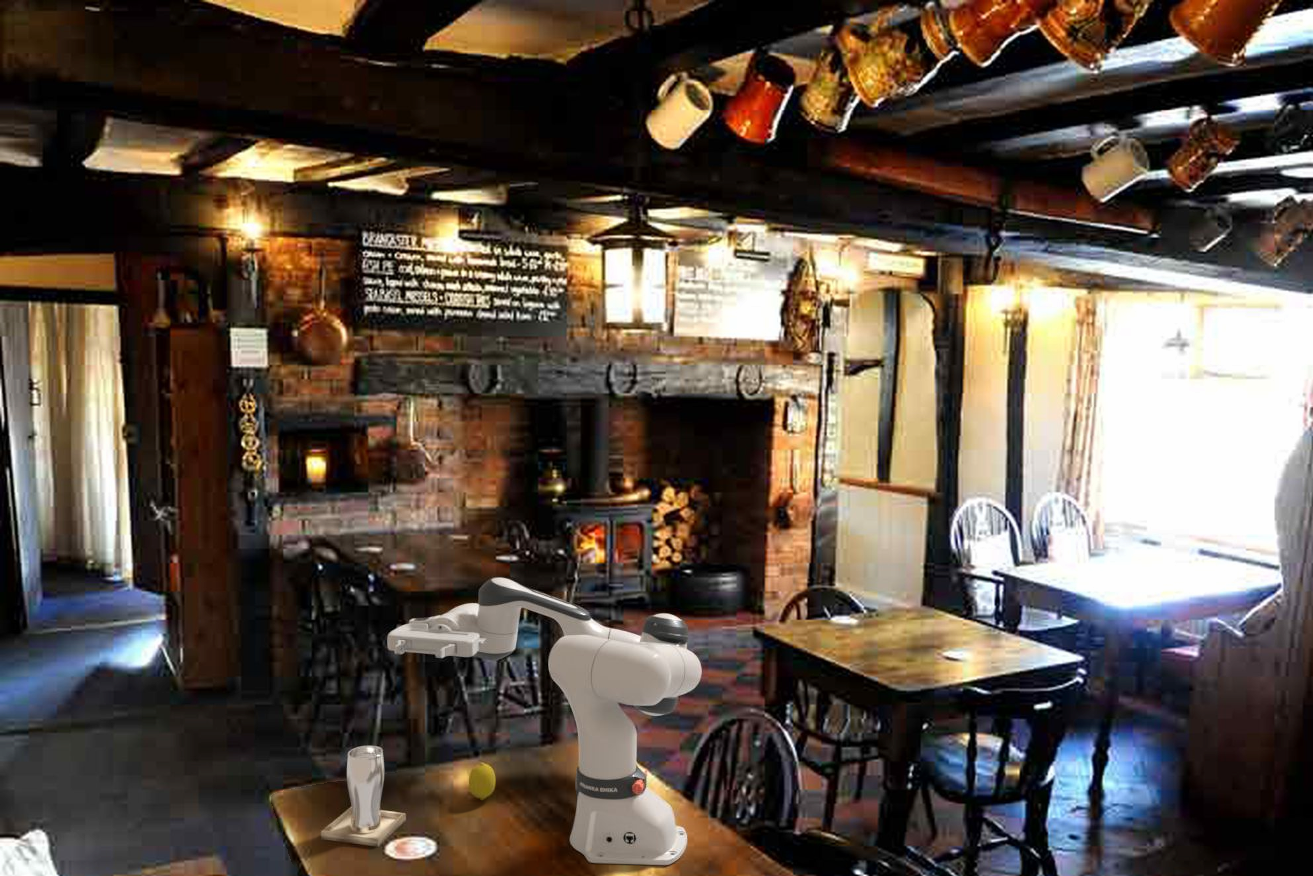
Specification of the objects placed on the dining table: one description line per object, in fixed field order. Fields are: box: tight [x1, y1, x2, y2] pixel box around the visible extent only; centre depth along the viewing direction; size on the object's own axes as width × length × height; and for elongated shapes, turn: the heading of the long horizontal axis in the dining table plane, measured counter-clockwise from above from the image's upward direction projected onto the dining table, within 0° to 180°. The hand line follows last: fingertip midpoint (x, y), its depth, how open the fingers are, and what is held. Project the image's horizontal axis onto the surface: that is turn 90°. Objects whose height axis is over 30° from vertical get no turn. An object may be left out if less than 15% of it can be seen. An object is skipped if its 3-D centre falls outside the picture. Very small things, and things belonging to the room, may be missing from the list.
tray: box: [320, 806, 407, 848], centre depth 192 cm, size 12×11×2 cm
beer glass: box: [346, 745, 385, 834], centre depth 192 cm, size 7×7×15 cm
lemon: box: [468, 762, 497, 801], centre depth 206 cm, size 6×6×8 cm
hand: (417, 652), depth 208 cm, fingers open, 8 cm apart
